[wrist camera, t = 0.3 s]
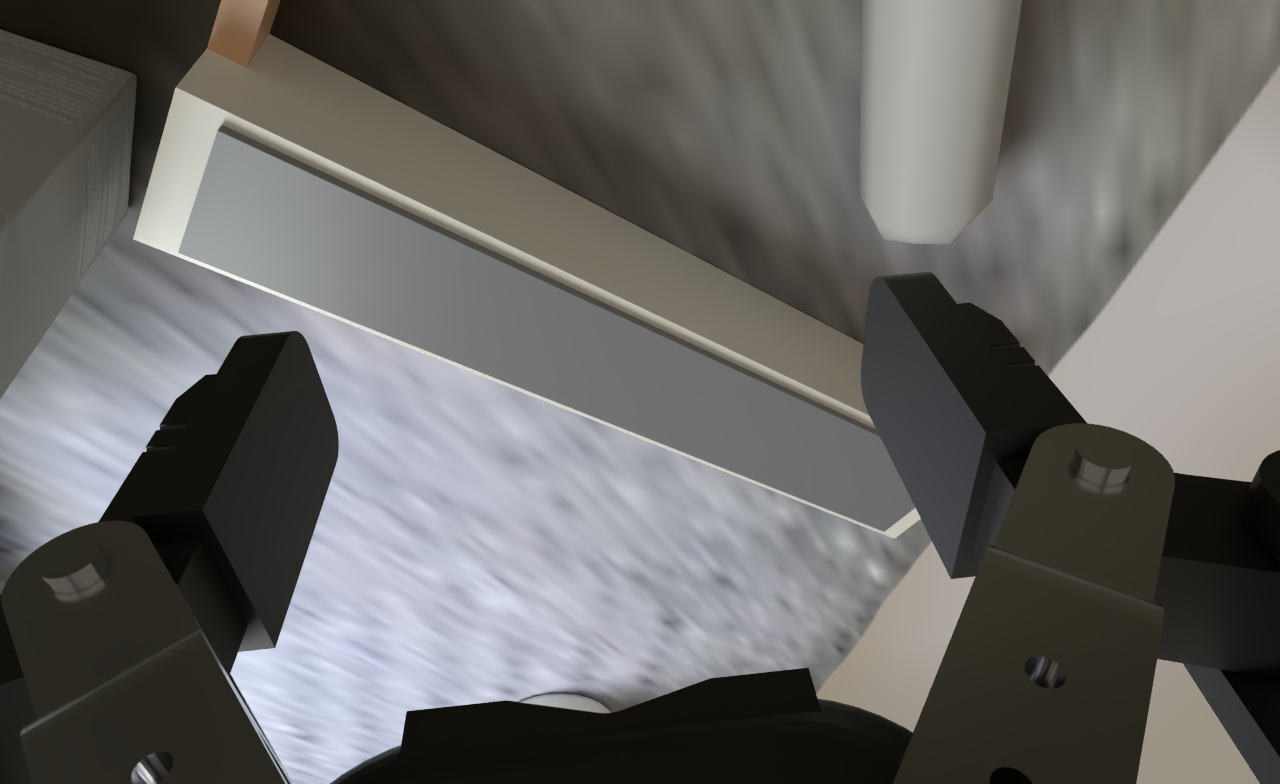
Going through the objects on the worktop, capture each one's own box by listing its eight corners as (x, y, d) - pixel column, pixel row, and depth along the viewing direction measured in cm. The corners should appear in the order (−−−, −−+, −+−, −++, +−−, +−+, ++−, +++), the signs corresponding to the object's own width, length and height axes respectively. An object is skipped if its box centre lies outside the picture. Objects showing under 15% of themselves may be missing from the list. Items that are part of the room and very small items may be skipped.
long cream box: (258, -67, 27) (196, -1, 22) (985, 346, 42) (1038, 438, 37) (191, 153, 32) (128, 245, 27) (862, 452, 47) (896, 545, 42)
